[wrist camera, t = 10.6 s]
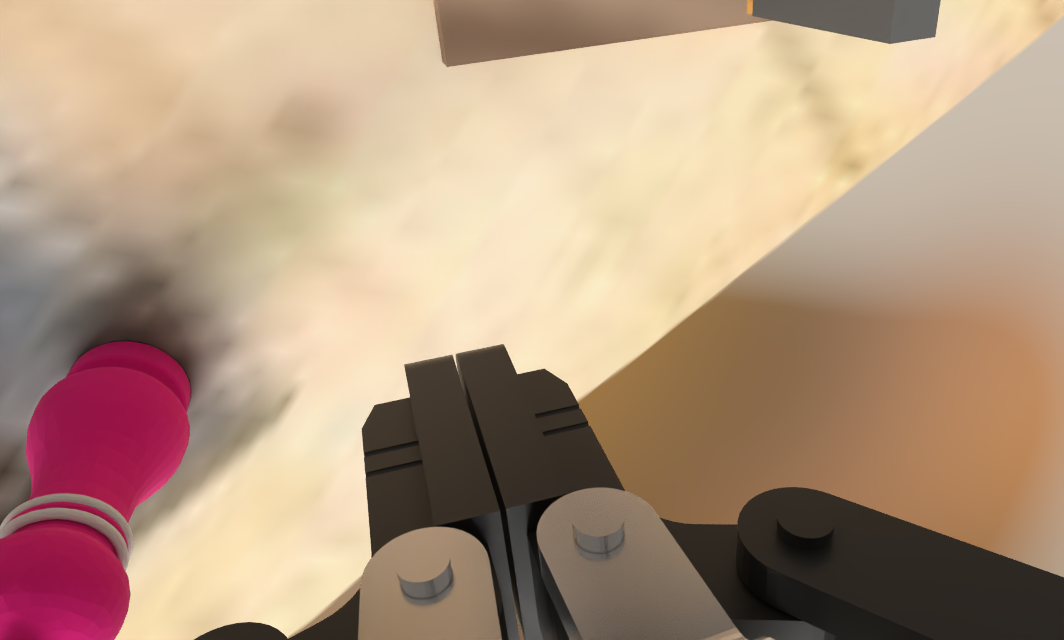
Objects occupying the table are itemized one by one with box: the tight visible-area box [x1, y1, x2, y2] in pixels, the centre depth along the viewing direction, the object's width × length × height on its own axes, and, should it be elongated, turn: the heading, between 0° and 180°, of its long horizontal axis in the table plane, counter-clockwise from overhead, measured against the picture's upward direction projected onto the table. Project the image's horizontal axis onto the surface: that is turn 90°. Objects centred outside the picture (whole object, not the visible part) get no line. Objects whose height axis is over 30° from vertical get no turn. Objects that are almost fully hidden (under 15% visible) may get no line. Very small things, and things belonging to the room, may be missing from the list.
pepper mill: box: [0, 341, 191, 640], centre depth 34 cm, size 7×7×20 cm
